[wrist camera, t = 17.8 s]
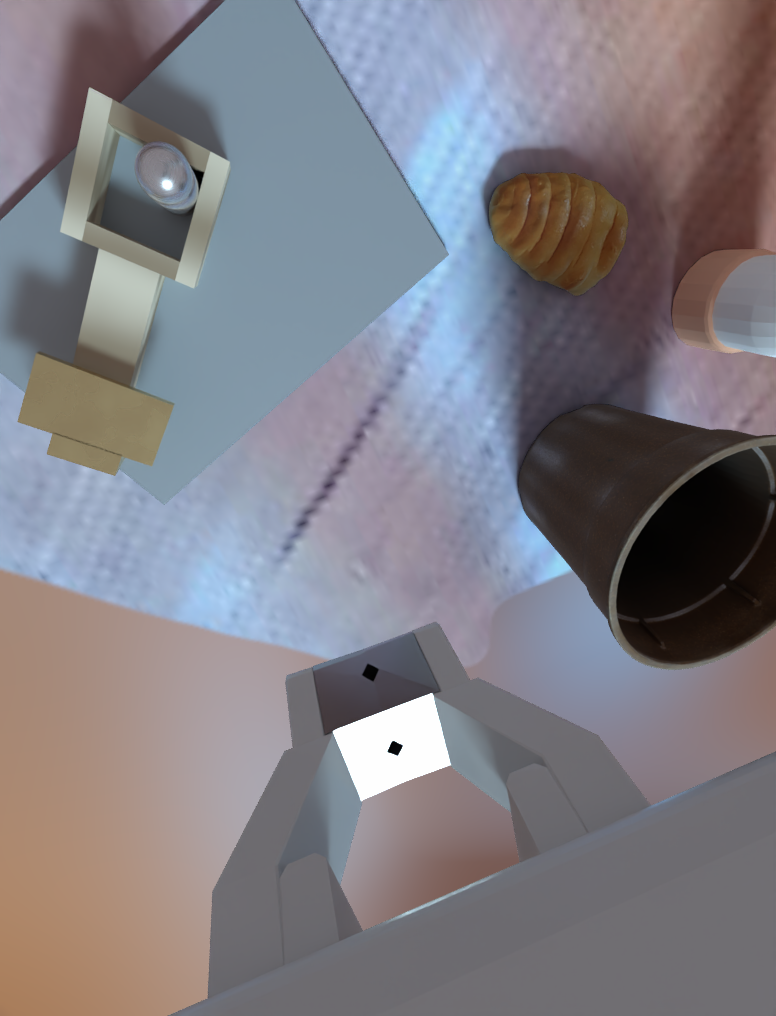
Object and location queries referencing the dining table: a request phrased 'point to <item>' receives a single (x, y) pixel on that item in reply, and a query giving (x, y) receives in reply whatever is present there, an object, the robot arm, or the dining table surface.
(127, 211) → the board
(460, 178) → the dining table surface
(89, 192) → the link
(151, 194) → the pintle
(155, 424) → the block
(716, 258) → the salt shaker
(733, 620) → the plant pot
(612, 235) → the pastry
